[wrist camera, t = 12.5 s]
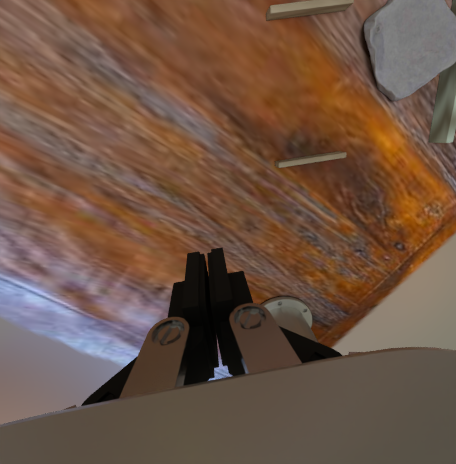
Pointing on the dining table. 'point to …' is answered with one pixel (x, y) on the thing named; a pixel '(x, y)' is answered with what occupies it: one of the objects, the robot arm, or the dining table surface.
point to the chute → (448, 93)
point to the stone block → (410, 44)
